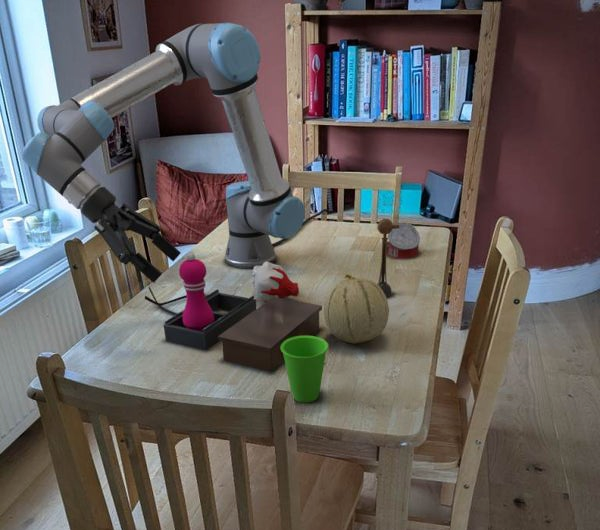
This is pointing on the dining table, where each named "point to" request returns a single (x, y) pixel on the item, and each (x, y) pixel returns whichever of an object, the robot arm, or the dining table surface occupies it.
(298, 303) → the brown lidded box
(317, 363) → the cup
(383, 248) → the wooden tabletop sculpture
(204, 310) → the pepper mill
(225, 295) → the black rectangular open tray
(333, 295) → the cantaloupe
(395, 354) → the dining table surface
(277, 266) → the red white pronged ornament
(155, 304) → the sunglasses
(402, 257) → the canned food
